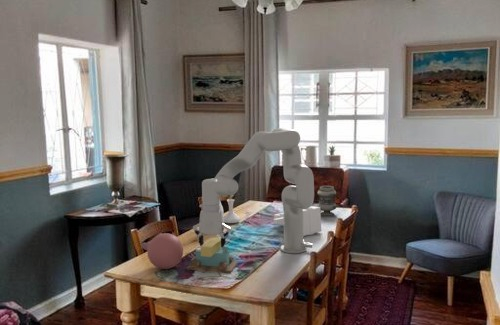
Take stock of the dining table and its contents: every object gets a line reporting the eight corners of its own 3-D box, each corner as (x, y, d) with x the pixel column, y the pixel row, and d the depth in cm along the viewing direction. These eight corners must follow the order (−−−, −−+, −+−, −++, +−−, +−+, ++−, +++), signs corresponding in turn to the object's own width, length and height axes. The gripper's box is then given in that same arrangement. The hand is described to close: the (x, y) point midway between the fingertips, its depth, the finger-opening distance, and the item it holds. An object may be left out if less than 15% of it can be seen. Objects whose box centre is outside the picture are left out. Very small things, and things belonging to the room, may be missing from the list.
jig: (238, 263, 202) (237, 255, 202) (231, 273, 190) (230, 265, 190) (195, 260, 206) (195, 252, 206) (186, 269, 195) (186, 262, 194)
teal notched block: (229, 263, 199) (229, 245, 198) (226, 267, 195) (226, 248, 194) (199, 261, 202) (199, 243, 201) (196, 264, 198) (195, 246, 197)
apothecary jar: (317, 212, 292) (317, 184, 289) (336, 212, 290) (336, 185, 288) (317, 216, 280) (317, 188, 278) (337, 217, 278) (337, 188, 276)
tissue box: (295, 224, 271) (329, 231, 248) (263, 231, 256) (295, 239, 234) (294, 200, 270) (328, 204, 247) (261, 206, 255) (294, 211, 233)
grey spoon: (244, 221, 272) (243, 180, 268) (233, 225, 262) (232, 183, 259) (226, 218, 279) (225, 179, 275) (215, 223, 269) (214, 181, 266)
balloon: (153, 258, 210) (151, 226, 207) (190, 264, 202) (189, 231, 199) (132, 270, 196) (130, 235, 193) (171, 276, 188) (169, 241, 185)
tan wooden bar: (223, 246, 203) (223, 238, 203) (210, 256, 190) (210, 247, 190) (214, 245, 205) (214, 237, 204) (200, 255, 192) (200, 246, 191)
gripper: (189, 208, 193) (190, 247, 195) (228, 210, 189) (228, 249, 192) (195, 204, 200) (196, 241, 203) (232, 206, 197) (233, 244, 199)
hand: (212, 245), depth 197 cm, fingers open, 9 cm apart
